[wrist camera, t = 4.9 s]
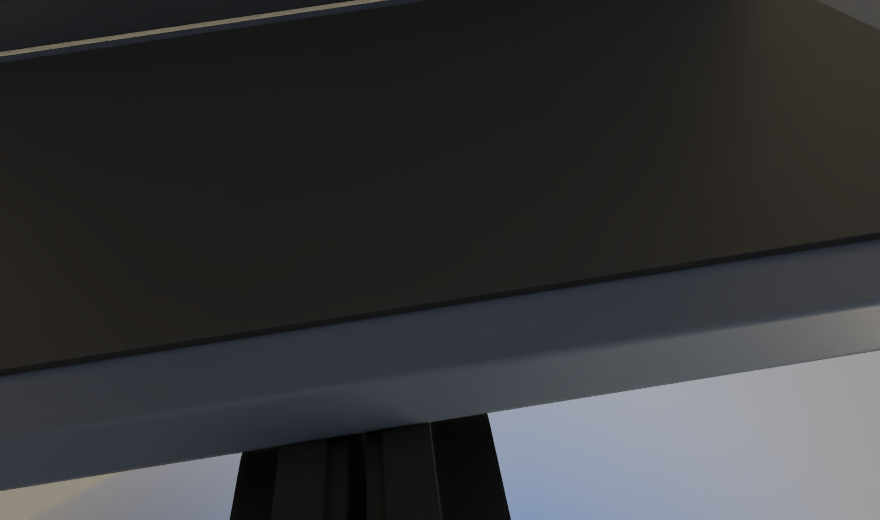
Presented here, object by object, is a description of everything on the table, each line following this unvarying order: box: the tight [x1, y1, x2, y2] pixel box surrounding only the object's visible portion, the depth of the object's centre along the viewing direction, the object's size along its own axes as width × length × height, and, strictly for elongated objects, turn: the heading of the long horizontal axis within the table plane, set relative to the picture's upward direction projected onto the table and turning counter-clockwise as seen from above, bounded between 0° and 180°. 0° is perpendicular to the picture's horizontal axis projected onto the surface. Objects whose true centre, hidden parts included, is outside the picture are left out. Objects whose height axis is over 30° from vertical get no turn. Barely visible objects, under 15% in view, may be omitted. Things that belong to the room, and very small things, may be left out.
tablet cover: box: [0, 0, 880, 491], centre depth 15 cm, size 16×23×1 cm
